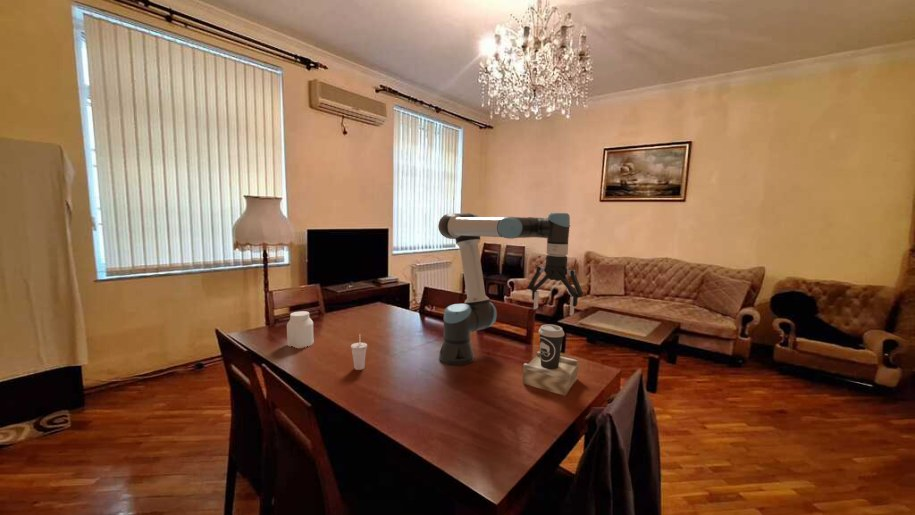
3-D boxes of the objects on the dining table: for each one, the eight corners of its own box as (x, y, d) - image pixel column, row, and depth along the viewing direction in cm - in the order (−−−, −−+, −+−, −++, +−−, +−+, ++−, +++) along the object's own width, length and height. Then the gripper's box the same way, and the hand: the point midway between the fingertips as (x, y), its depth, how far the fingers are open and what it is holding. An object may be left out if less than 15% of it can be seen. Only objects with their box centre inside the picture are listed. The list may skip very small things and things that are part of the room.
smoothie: (370, 366, 143) (370, 333, 141) (360, 372, 137) (359, 338, 135) (358, 363, 145) (358, 331, 144) (347, 369, 140) (347, 335, 138)
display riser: (522, 383, 131) (523, 364, 130) (537, 368, 144) (538, 351, 143) (565, 395, 122) (566, 375, 121) (577, 378, 135) (578, 360, 135)
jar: (317, 343, 167) (316, 313, 166) (299, 349, 159) (298, 317, 157) (301, 338, 173) (300, 309, 171) (283, 344, 165) (282, 314, 163)
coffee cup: (563, 372, 127) (566, 332, 125) (537, 369, 129) (538, 330, 127) (561, 361, 136) (563, 324, 135) (536, 359, 138) (538, 322, 136)
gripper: (521, 253, 131) (518, 307, 134) (589, 259, 118) (585, 319, 120) (528, 251, 137) (525, 303, 140) (594, 257, 124) (590, 315, 127)
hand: (553, 311), depth 130 cm, fingers open, 13 cm apart
